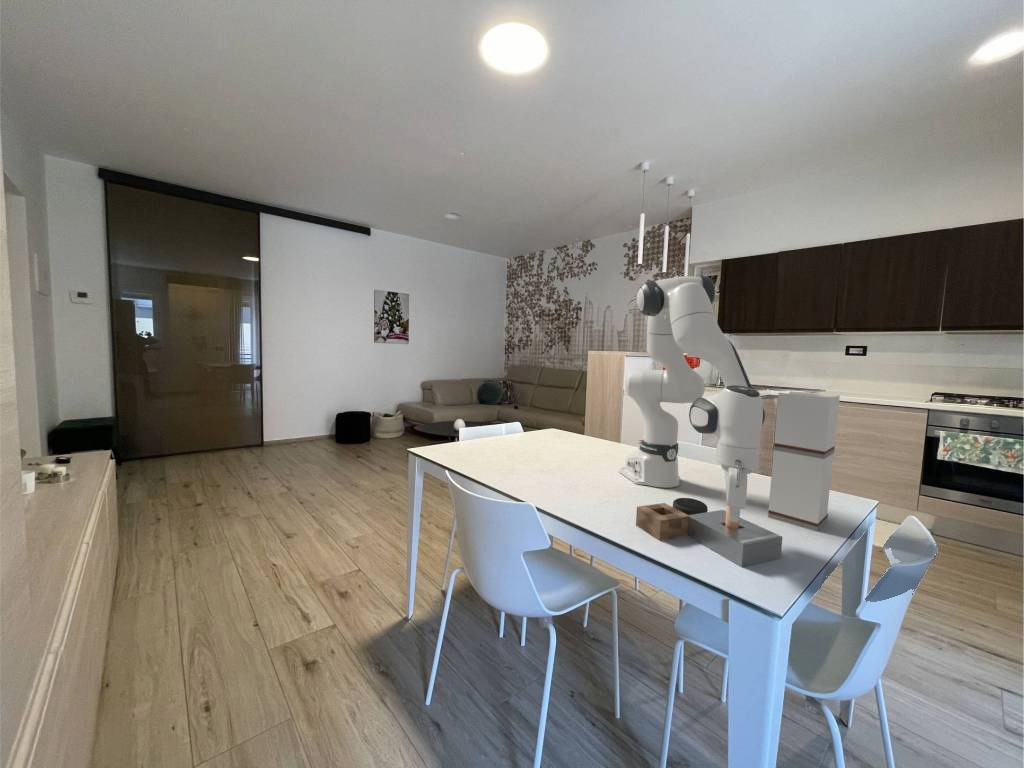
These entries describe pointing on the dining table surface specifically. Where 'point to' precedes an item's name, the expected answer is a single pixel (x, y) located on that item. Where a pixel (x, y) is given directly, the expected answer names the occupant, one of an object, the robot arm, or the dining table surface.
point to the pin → (728, 523)
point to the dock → (734, 538)
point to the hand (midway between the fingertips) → (732, 513)
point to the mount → (662, 521)
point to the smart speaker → (690, 506)
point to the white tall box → (803, 458)
